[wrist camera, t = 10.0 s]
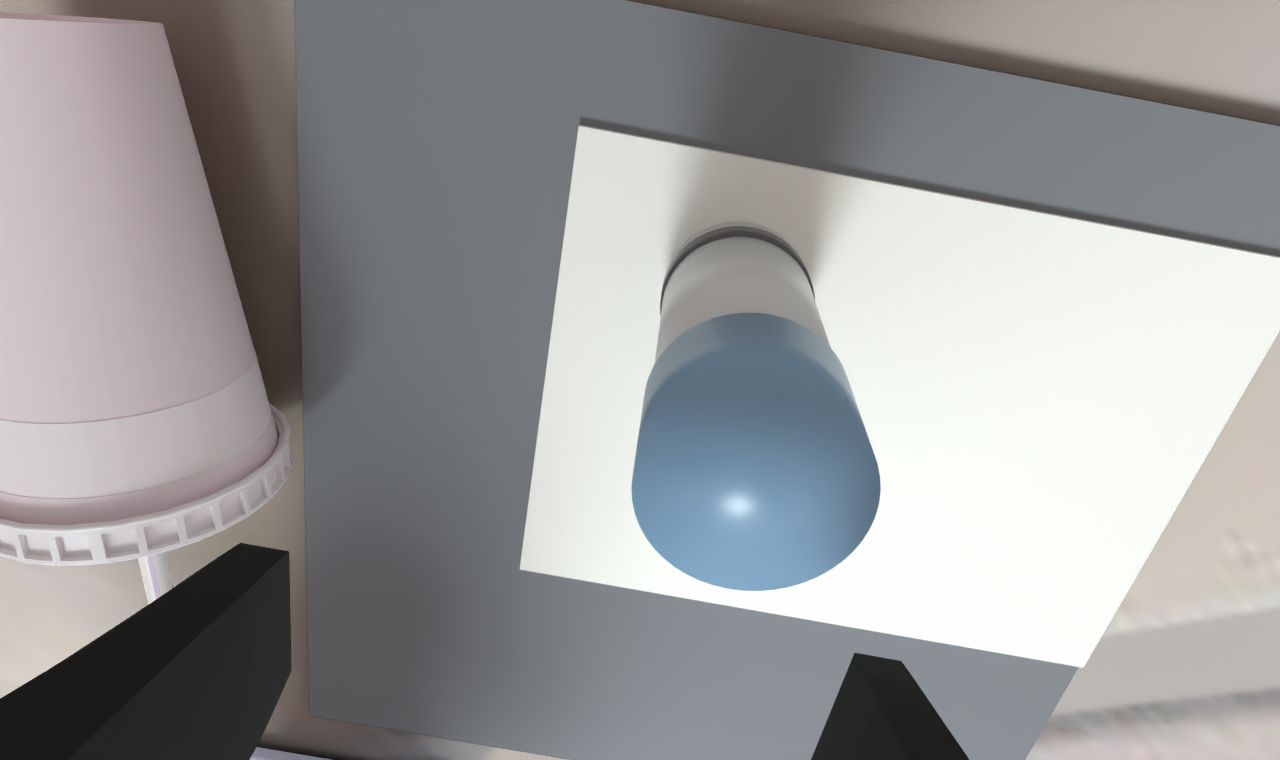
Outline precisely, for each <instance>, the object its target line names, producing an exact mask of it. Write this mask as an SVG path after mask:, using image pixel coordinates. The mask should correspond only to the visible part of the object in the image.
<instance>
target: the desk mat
mask: <svg viewBox="0 0 1280 760" xmlns="http://www.w3.org/2000/svg"><path fill="white" fill-rule="evenodd" d="M294 10H295V57H296V105H297V152H298V199H299V247H300V294H301V342H302V389H303V437H304V484H305V532H306V579H307V627H308V674H309V716H314V717H320V718H326V719H331V720H337V721H343V722H349V723H355V724H361V725H367V726H373V727H379V728H385V729H391V730H397V731H403V732H409V733H414V734H420V735H426V736H432V737H438V738H444V739H450V740H456V741H462V742H468V743H474V744H480V745H486V746H491V747H497V748H503V749H509V750H515V751H521V752H527V753H533V754H539V755H545V756H551V757H557V758H563V759H569V760H811V758H812V756H813V753H814V751H815V748H816V746H817V744H818V741H819V739H820V736H821V734H822V731H823V729H824V726H825V724H826V721H827V719H828V717H829V714H830V712H831V709H832V707H833V704H834V702H835V699H836V697H837V694H838V692H839V690H840V687H841V685H842V682H843V680H844V677H845V675H846V672H847V670H848V667H849V665H850V662H851V660H852V658H853V655H854V653H860V654H865V655H871V656H877V657H882V658H888V659H893V660H899V661H902V662H903V664H904V665H905V667H906V668H907V669H908V671H909V672H910V674H911V675H912V677H913V678H914V679H915V681H916V682H917V684H918V685H919V687H920V688H921V690H922V691H923V693H924V694H925V696H926V697H927V698H928V700H929V701H930V703H931V704H932V706H933V707H934V709H935V710H936V712H937V713H938V715H939V716H940V718H941V719H942V720H943V722H944V723H945V725H946V726H947V728H948V729H949V731H950V732H951V734H952V735H953V736H954V738H955V739H956V741H957V742H958V744H959V745H960V747H961V748H962V749H963V751H964V752H965V754H966V755H967V757H968V758H969V760H1025V759H1026V757H1027V756H1028V754H1029V752H1030V750H1031V749H1032V747H1033V745H1034V743H1035V742H1036V740H1037V738H1038V737H1039V735H1040V733H1041V731H1042V730H1043V728H1044V726H1045V724H1046V723H1047V721H1048V719H1049V718H1050V716H1051V714H1052V712H1053V711H1054V709H1055V707H1056V705H1057V704H1058V702H1059V700H1060V698H1061V697H1062V695H1063V693H1064V691H1065V690H1066V688H1067V686H1068V684H1069V683H1070V681H1071V680H1072V678H1073V676H1074V674H1075V673H1076V671H1077V669H1078V667H1076V666H1070V665H1065V664H1059V663H1053V662H1047V661H1042V660H1036V659H1030V658H1025V657H1019V656H1013V655H1007V654H1002V653H996V652H990V651H984V650H979V649H973V648H967V647H961V646H956V645H950V644H944V643H939V642H933V641H927V640H921V639H916V638H910V637H904V636H898V635H893V634H887V633H881V632H875V631H870V630H864V629H858V628H852V627H847V626H841V625H835V624H830V623H824V622H818V621H812V620H807V619H801V618H795V617H789V616H784V615H778V614H772V613H766V612H761V611H755V610H749V609H744V608H738V607H732V606H726V605H721V604H715V603H709V602H703V601H698V600H692V599H686V598H680V597H675V596H669V595H663V594H657V593H652V592H646V591H640V590H635V589H629V588H623V587H617V586H612V585H606V584H600V583H594V582H589V581H583V580H577V579H571V578H566V577H560V576H554V575H549V574H543V573H537V572H531V571H526V570H520V562H521V555H522V547H523V540H524V532H525V525H526V517H527V510H528V502H529V495H530V487H531V480H532V472H533V465H534V457H535V450H536V442H537V435H538V427H539V420H540V412H541V405H542V397H543V390H544V382H545V375H546V367H547V359H548V352H549V344H550V337H551V329H552V322H553V314H554V307H555V299H556V292H557V284H558V277H559V269H560V262H561V254H562V247H563V239H564V232H565V224H566V217H567V209H568V202H569V194H570V187H571V179H572V172H573V164H574V157H575V149H576V142H577V134H578V127H579V125H584V126H589V127H595V128H600V129H605V130H611V131H616V132H621V133H627V134H632V135H637V136H642V137H648V138H653V139H658V140H664V141H669V142H674V143H680V144H685V145H690V146H696V147H701V148H706V149H711V150H717V151H722V152H727V153H733V154H738V155H743V156H749V157H754V158H759V159H764V160H770V161H775V162H780V163H786V164H791V165H796V166H802V167H807V168H812V169H818V170H823V171H828V172H833V173H839V174H844V175H849V176H855V177H860V178H865V179H871V180H876V181H881V182H887V183H892V184H897V185H902V186H908V187H913V188H918V189H924V190H929V191H934V192H940V193H945V194H950V195H955V196H961V197H966V198H971V199H977V200H982V201H987V202H993V203H998V204H1003V205H1009V206H1014V207H1019V208H1024V209H1030V210H1035V211H1040V212H1046V213H1051V214H1056V215H1062V216H1067V217H1072V218H1078V219H1083V220H1088V221H1093V222H1099V223H1104V224H1109V225H1115V226H1120V227H1125V228H1131V229H1136V230H1141V231H1147V232H1152V233H1157V234H1162V235H1168V236H1173V237H1178V238H1184V239H1189V240H1194V241H1200V242H1205V243H1210V244H1215V245H1221V246H1226V247H1231V248H1237V249H1242V250H1247V251H1253V252H1258V253H1263V254H1269V255H1274V256H1279V257H1280V126H1278V125H1273V124H1268V123H1263V122H1257V121H1252V120H1247V119H1242V118H1237V117H1232V116H1226V115H1221V114H1216V113H1211V112H1206V111H1200V110H1195V109H1190V108H1185V107H1180V106H1174V105H1169V104H1164V103H1159V102H1154V101H1148V100H1143V99H1138V98H1133V97H1128V96H1122V95H1117V94H1112V93H1107V92H1102V91H1097V90H1091V89H1086V88H1081V87H1076V86H1071V85H1065V84H1060V83H1055V82H1050V81H1045V80H1039V79H1034V78H1029V77H1024V76H1019V75H1013V74H1008V73H1003V72H998V71H993V70H988V69H982V68H977V67H972V66H967V65H962V64H956V63H951V62H946V61H941V60H936V59H930V58H925V57H920V56H915V55H910V54H904V53H899V52H894V51H889V50H884V49H878V48H873V47H868V46H863V45H858V44H853V43H847V42H842V41H837V40H832V39H827V38H821V37H816V36H811V35H806V34H801V33H795V32H790V31H785V30H780V29H775V28H769V27H764V26H759V25H754V24H749V23H743V22H738V21H733V20H728V19H723V18H718V17H712V16H707V15H702V14H697V13H692V12H686V11H681V10H676V9H671V8H666V7H660V6H655V5H650V4H645V3H640V2H634V1H629V0H294Z"/></svg>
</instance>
